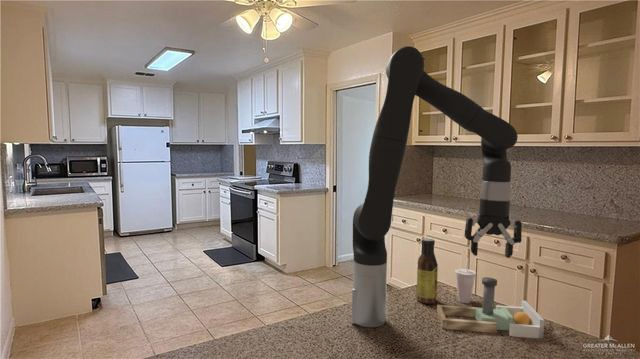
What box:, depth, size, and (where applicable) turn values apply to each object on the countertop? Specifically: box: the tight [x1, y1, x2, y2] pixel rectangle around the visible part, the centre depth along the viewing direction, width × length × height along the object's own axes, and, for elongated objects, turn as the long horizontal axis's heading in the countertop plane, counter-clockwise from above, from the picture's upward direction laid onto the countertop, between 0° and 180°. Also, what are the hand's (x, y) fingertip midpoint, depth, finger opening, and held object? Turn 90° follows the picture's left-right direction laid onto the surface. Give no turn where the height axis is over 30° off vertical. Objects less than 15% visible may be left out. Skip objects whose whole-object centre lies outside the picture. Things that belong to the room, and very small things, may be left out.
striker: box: [474, 277, 514, 331], centre depth 109 cm, size 8×7×13 cm
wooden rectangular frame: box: [436, 304, 498, 334], centre depth 111 cm, size 14×10×2 cm
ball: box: [513, 312, 530, 325], centre depth 108 cm, size 4×4×4 cm
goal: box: [495, 300, 545, 339], centre depth 108 cm, size 8×13×5 cm, turn 172°
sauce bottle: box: [416, 238, 439, 305], centre depth 125 cm, size 7×6×20 cm
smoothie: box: [454, 257, 477, 304], centre depth 125 cm, size 6×6×14 cm
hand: (491, 256), depth 108 cm, fingers open, 8 cm apart
